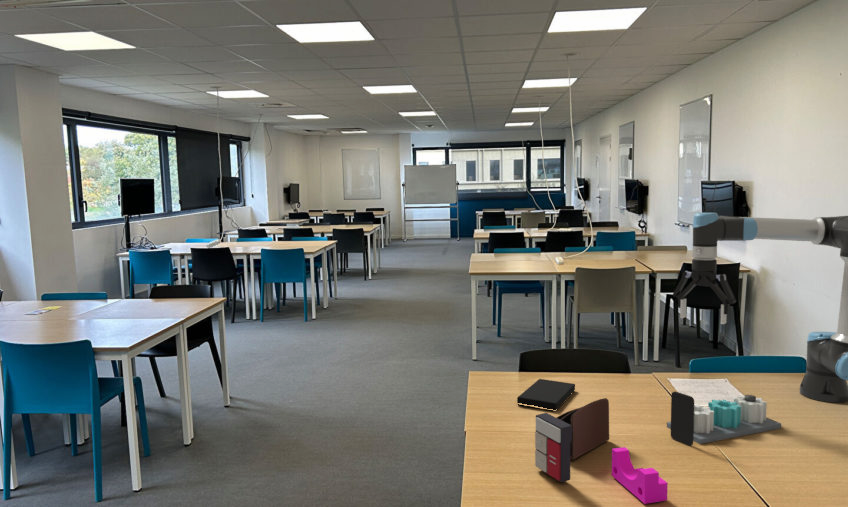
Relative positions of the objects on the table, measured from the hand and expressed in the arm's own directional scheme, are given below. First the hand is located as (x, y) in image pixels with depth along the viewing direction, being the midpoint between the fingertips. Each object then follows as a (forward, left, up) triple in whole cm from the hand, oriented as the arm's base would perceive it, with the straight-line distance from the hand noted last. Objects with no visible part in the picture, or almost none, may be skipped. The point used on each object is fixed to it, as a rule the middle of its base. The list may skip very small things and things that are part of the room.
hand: (702, 320), depth 203 cm
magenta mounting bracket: (+55, +37, -31) cm, 74 cm away
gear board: (+6, +16, -31) cm, 35 cm away
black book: (+43, -29, -31) cm, 61 cm away
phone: (+26, +20, -31) cm, 45 cm away
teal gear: (+6, +16, -29) cm, 34 cm away
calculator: (+72, +23, -31) cm, 82 cm away
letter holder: (+56, +10, -31) cm, 64 cm away
